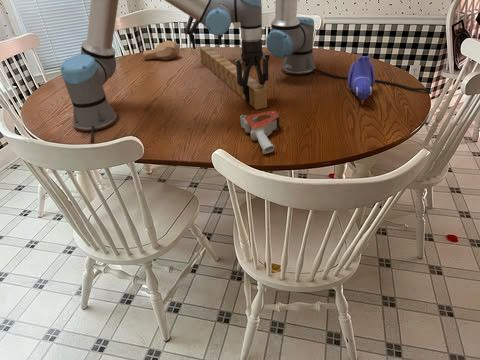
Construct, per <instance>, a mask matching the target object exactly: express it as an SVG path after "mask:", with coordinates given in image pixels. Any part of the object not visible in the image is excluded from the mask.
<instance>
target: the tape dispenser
mask: <svg viewBox="0 0 480 360" xmlns="http://www.w3.org/2000/svg"><path fill="white" fill-rule="evenodd" d="M263 116H266V118H265V119H262V120H260V121H259V117H263ZM239 119H240V127H241V128H243V129H244V132H245V133H246V134H248V133H249V134H250V139H251V140H252V141H253V142H254V141H258V144H259V146H260V148H261V149H262V150H261V151H262V154H264V155H266V154H269V153H272V152H274V150H275V145H274V144H273V143H272V142H271V140H270V139H269V138H268V137H269V136H270V135H271V134H272V133H273V131H278V130H279V129H280V115H279V113H278V112H277V110H267V111H264V112H259V113H253V114H248V115H247V114H241V115H240V116H239Z"/></svg>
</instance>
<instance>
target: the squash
mask: <svg viewBox="0 0 480 360" xmlns="http://www.w3.org/2000/svg"><path fill="white" fill-rule="evenodd" d="M179 55H180V47H179V46H178V44H177V41H174V40H169V39H168V40H165V41H163V42H159V43H158V44H157V45H156V47H154V48H152V49H147V50H143V51H142V58H143V60H145V61H149V60H151V59H159V60H163V61H171V60H173V59H175V58H176V57H177V56H178V57H179Z"/></svg>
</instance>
